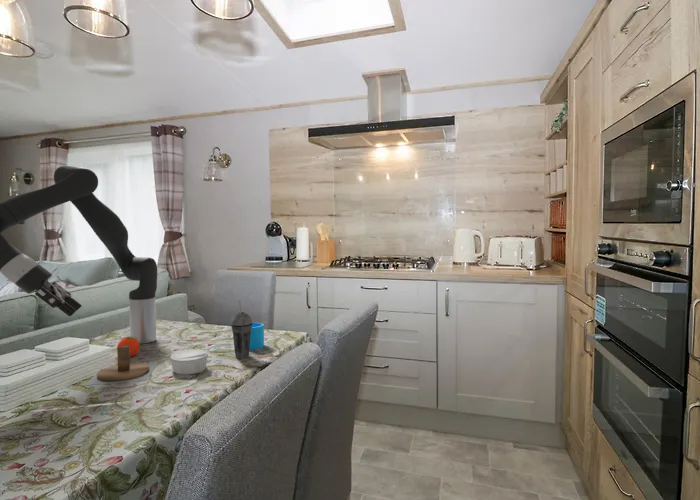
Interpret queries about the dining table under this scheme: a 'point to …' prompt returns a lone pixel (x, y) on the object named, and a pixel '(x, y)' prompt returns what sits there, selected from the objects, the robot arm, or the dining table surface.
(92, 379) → the slate mat
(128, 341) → the clementine
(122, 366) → the walnut lid
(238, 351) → the beverage cup
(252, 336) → the mug
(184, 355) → the ramekin
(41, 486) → the dining table surface
